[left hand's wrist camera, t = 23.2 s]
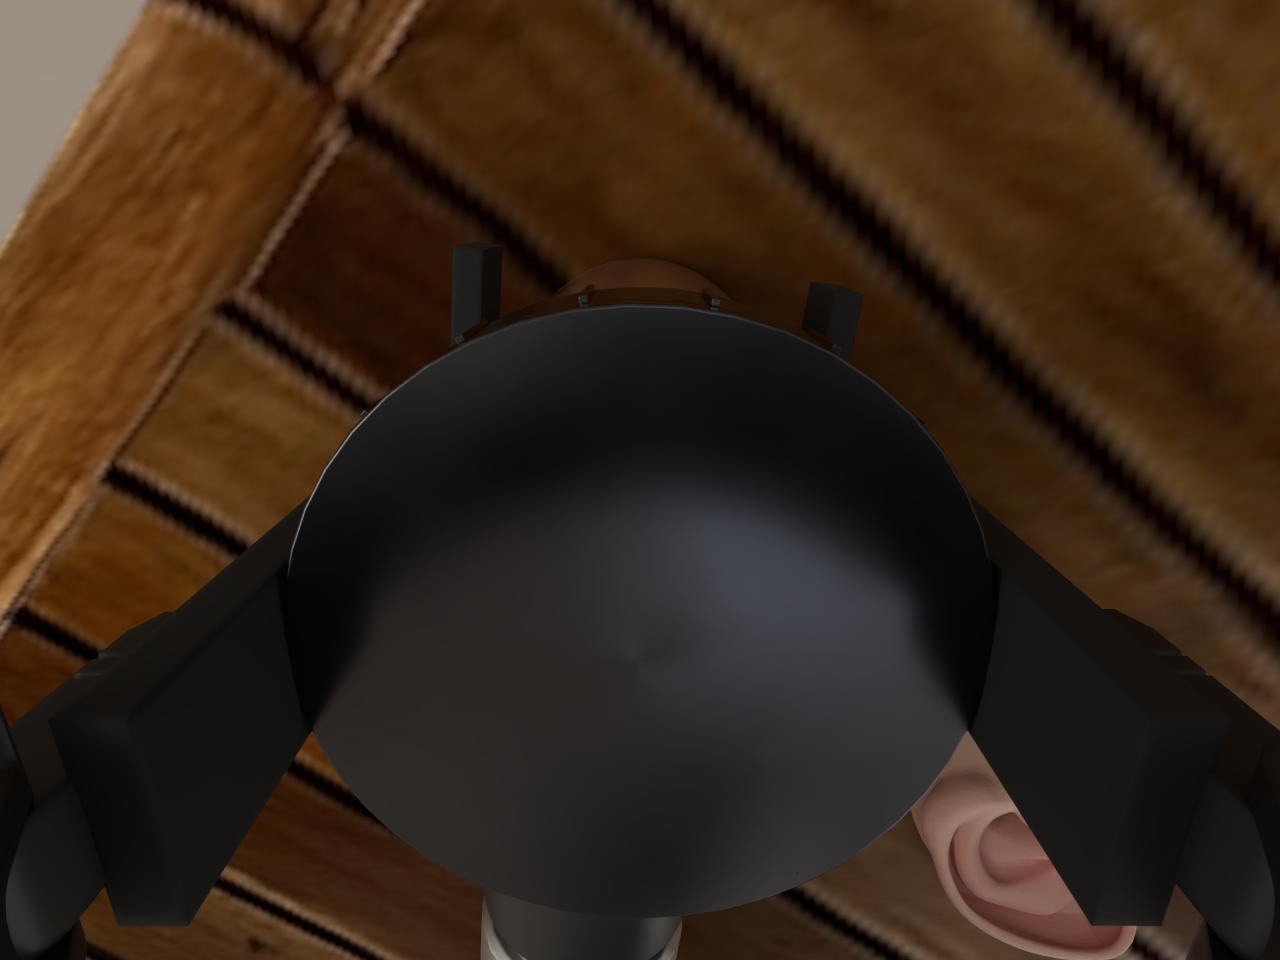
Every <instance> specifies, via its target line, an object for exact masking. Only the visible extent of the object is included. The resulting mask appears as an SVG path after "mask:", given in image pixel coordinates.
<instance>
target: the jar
mask: <svg viewBox="0 0 1280 960" xmlns="http://www.w3.org/2000/svg"><path fill="white" fill-rule="evenodd" d="M592 284H594V286H595V290H600V289H610V288H621V287H653V288H676V289H681V290H687V291H693V292H699V293H702V288H703V287H705V288H710V289H711V290H712V291H713V292H714V293H715V295H716V296H720V297H723V298H727V299H730V298H729V297H728V296H727V295H726V294H725V293H724V292H723V291H722V290H721V289H720V288H718V287H717V286H716V285H715V284H713V283H712V282H711V281H709V280H708V279H707V278H705V277H703V276H702V275H700V274H698V273H697V272H695V271H693V270H691V269H688V268H686V267H683V266H681V265H679V264H675V263H671V262H667V261H664V260H657V259H649V258H629V259H623V260H616V261H612V262H608V263H605V264H602V265H598V266H596V267H594V268H591V269H589V270H587V271H585V272H583V273H581V274H580V275H578V276H576V277H575V278H573V279H572V280H570V281H569V282H567V283H566V284H565V285H564V286H563V287H562V288H560V289H559V290H558V291H557V292H556V293H555V294H554V295H552V296H551V297H550V298H549V299H553V298H557V297H562V296H566V295H570V294H574V293H579V292H582V291H583V290H584V289H585V287H586V286H587V285H592ZM549 299H548V300H549ZM730 300H731V299H730Z"/></svg>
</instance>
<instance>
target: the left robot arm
mask: <svg viewBox="0 0 1280 960" xmlns="http://www.w3.org/2000/svg"><path fill="white" fill-rule="evenodd" d="M309 497H310V496H309ZM309 497H308V498H307V499H306V500H304V501H303V502H302V503H301V504H300V505H299V506H297V507H296V508H295V509H294V510H293V511H292V512H290V513H289V514H288V515H287V516H286V517H285V518H283V519H282V520H281V521H280V522H279V523H278V524H276V525H275V526H274V527H273V528H272V529H271V530H269V531H268V532H267V533H266V534H265V535H263V536H262V537H261V538H260V539H259V540H258V541H256V542H255V543H254V544H253V545H252V546H251V547H249V548H248V549H247V550H246V551H245V552H244V553H242V554H241V555H240V556H239V557H238V558H237V559H235V560H234V561H233V562H232V563H231V564H230V565H228V566H227V567H226V568H225V569H224V570H223V571H221V572H220V573H219V574H218V575H217V576H215V577H214V578H213V579H212V580H211V581H210V582H208V583H207V584H206V585H205V586H204V587H203V588H201V589H200V590H199V591H198V592H197V593H196V594H194V595H193V596H192V597H191V598H190V599H189V600H187V601H186V602H185V603H184V604H183V605H182V606H180V607H179V608H178V609H177V610H176V611H175V612H164V613H162V614H160V615H158V616H156V617H154V618H152V619H150V620H148V621H146V622H144V623H142V624H140V625H139V626H137V627H135V628H133V629H131V630H129V631H127V632H126V633H124V634H123V635H122V636H121V637H119V638H118V639H117V640H116V641H115V642H113V643H112V644H111V645H110V646H108V647H107V648H106V649H105V650H103V651H102V652H101V653H100V654H99V658H98V659H92V660H91V661H90V662H89V663H88V664H86V665H85V666H84V667H83V668H81V669H80V670H79V671H78V672H76V673H75V678H74V679H68V680H67V681H65V682H64V683H63V684H62V685H60V686H59V687H58V688H57V689H56V690H54V691H53V692H52V693H51V694H49V695H48V696H47V697H46V698H45V699H43V700H42V701H41V702H40V703H38V704H37V705H36V706H35V707H33V708H32V709H31V710H30V711H29V712H27V713H26V714H25V715H24V716H22V717H21V718H20V719H19V720H17V721H16V722H15V723H14V724H13V725H11V726H10V727H9V726H8V723H7V721H6V718H5V715H4V712H3V710H2V707H1V704H0V960H85V959H86V953H87V946H86V939H85V933H84V931H83V928H82V925H81V922H80V920H79V918H80V916H81V915H82V914H83V913H84V911H85V910H86V909H87V908H88V906H89V905H90V904H91V903H92V901H93V900H94V899H95V898H96V896H97V895H98V894H99V893H100V891H101V890H102V889H103V888H104V886H105V888H106V891H107V894H108V897H109V900H110V903H111V906H112V909H113V912H114V914H115V917H116V920H117V923H118V926H188V925H189V923H190V922H191V920H192V919H193V917H194V916H195V914H196V912H197V911H198V909H199V908H200V906H201V905H202V903H203V901H204V900H205V898H206V897H207V895H208V894H209V892H210V890H211V889H212V887H213V886H214V884H215V883H216V881H217V879H218V878H219V876H220V875H221V873H222V871H223V870H224V868H225V867H226V865H227V864H228V862H229V860H230V859H231V857H232V856H233V854H234V853H235V851H236V849H237V848H238V846H239V845H240V843H241V842H242V840H243V838H244V837H245V835H246V834H247V832H248V830H249V829H250V827H251V826H252V824H253V823H254V821H255V819H256V818H257V816H258V815H259V813H260V812H261V810H262V808H263V807H264V805H265V804H266V802H267V801H268V799H269V797H270V796H271V794H272V793H273V791H274V790H275V788H276V786H277V785H278V783H279V782H280V780H281V778H282V777H283V775H284V774H285V772H286V771H287V769H288V767H289V766H290V764H291V763H292V761H293V760H294V758H295V756H296V755H297V753H298V752H299V750H300V749H301V747H302V745H303V744H304V742H305V741H306V739H307V737H308V736H309V734H310V733H311V731H312V728H311V726H310V724H309V722H308V720H307V718H306V716H305V714H304V711H303V709H302V706H301V703H300V700H299V696H298V693H297V690H296V687H295V683H294V679H293V674H292V669H291V664H290V658H289V653H288V648H287V642H286V637H285V585H286V578H287V572H288V565H289V559H290V552H291V547H292V544H293V541H294V538H295V535H296V532H297V529H298V525H299V522H300V519H301V516H302V513H303V510H304V507H305V505H306V503H307V501H308V499H309ZM970 499H971V501H972V504H973V506H974V509H975V511H976V514H977V516H978V519H979V521H980V524H981V526H982V529H983V532H984V536H985V541H986V545H987V550H988V554H989V558H990V563H991V567H992V572H993V587H994V601H995V624H994V635H993V644H992V650H991V656H990V661H989V666H988V670H987V675H986V680H985V685H984V689H983V693H982V695H981V698H980V700H979V703H978V706H977V708H976V711H975V713H974V716H973V718H972V721H971V723H970V726H969V728H968V732H969V733H970V735H971V737H972V738H973V740H974V741H975V743H976V745H977V746H978V748H979V749H980V751H981V752H982V754H983V756H984V757H985V759H986V760H987V762H988V763H989V765H990V767H991V768H992V770H993V771H994V773H995V774H996V776H997V778H998V779H999V781H1000V782H1001V784H1002V786H1003V787H1004V789H1005V790H1006V792H1007V793H1008V795H1009V797H1010V798H1011V800H1012V801H1013V803H1014V804H1015V806H1016V808H1017V809H1018V811H1019V812H1020V814H1021V815H1022V817H1023V819H1024V820H1025V822H1026V823H1027V825H1028V826H1029V828H1030V830H1031V831H1032V833H1033V834H1034V836H1035V838H1036V839H1037V841H1038V842H1039V844H1040V845H1041V847H1042V849H1043V850H1044V852H1045V853H1046V855H1047V856H1048V858H1049V860H1050V861H1051V863H1052V864H1053V866H1054V867H1055V869H1056V871H1057V872H1058V874H1059V875H1060V877H1061V879H1062V880H1063V882H1064V883H1065V885H1066V886H1067V888H1068V890H1069V891H1070V893H1071V894H1072V896H1073V897H1074V899H1075V901H1076V902H1077V904H1078V905H1079V907H1080V908H1081V910H1082V912H1083V913H1084V915H1085V916H1086V918H1087V920H1088V921H1089V923H1090V924H1091V926H1161V924H1162V922H1163V919H1164V916H1165V913H1166V910H1167V907H1168V904H1169V901H1170V898H1171V895H1172V892H1173V889H1174V886H1175V884H1177V885H1178V887H1179V888H1180V889H1181V890H1182V892H1183V893H1184V894H1185V895H1186V897H1187V898H1188V899H1189V900H1190V902H1191V903H1192V904H1193V905H1194V907H1195V908H1196V909H1197V910H1198V912H1199V913H1200V914H1201V915H1202V917H1201V920H1200V922H1199V925H1198V928H1197V931H1196V933H1195V936H1194V939H1193V941H1192V944H1191V947H1190V950H1189V952H1188V955H1187V958H1186V960H1280V731H1279V730H1278V729H1277V728H1276V727H1274V726H1273V725H1272V724H1271V723H1269V722H1268V721H1267V720H1266V719H1264V718H1263V717H1262V716H1261V715H1259V714H1258V713H1257V712H1256V711H1254V710H1253V709H1252V708H1251V707H1250V706H1248V705H1247V704H1246V703H1245V702H1243V701H1242V700H1241V699H1240V698H1238V697H1237V696H1236V695H1235V694H1233V693H1232V692H1231V691H1230V690H1228V689H1227V688H1226V687H1225V686H1224V685H1222V684H1221V683H1220V682H1219V681H1217V680H1216V679H1215V678H1214V677H1212V676H1206V674H1205V670H1204V669H1202V668H1201V667H1200V666H1199V665H1198V664H1196V663H1195V662H1194V661H1193V660H1191V659H1190V658H1189V657H1188V656H1182V654H1181V651H1180V650H1179V649H1178V648H1176V647H1175V646H1174V645H1173V644H1172V643H1170V642H1169V641H1168V640H1167V639H1165V638H1164V637H1163V636H1162V635H1160V634H1159V633H1158V632H1157V631H1155V630H1154V629H1153V628H1151V627H1149V626H1147V625H1145V624H1143V623H1141V622H1139V621H1137V620H1135V619H1133V618H1131V617H1129V616H1127V615H1125V614H1123V613H1121V612H1119V611H1117V610H1115V609H1101V608H1100V607H1099V606H1098V605H1097V604H1096V603H1094V602H1093V601H1092V600H1091V599H1090V598H1089V597H1087V596H1086V595H1085V594H1084V593H1083V592H1082V591H1080V590H1079V589H1078V588H1077V587H1076V586H1075V585H1073V584H1072V583H1071V582H1070V581H1069V580H1068V579H1066V578H1065V577H1064V576H1063V575H1062V574H1061V573H1059V572H1058V571H1057V570H1056V569H1055V568H1053V567H1052V566H1051V565H1050V564H1049V563H1048V562H1046V561H1045V560H1044V559H1043V558H1042V557H1041V556H1039V555H1038V554H1037V553H1036V552H1035V551H1034V550H1032V549H1031V548H1030V547H1029V546H1028V545H1027V544H1025V543H1024V542H1023V541H1022V540H1021V539H1020V538H1018V537H1017V536H1016V535H1015V534H1014V533H1013V532H1011V531H1010V530H1009V529H1008V528H1007V527H1005V526H1004V525H1003V524H1002V523H1001V522H1000V521H998V520H997V519H996V518H995V517H994V516H993V515H991V514H990V513H989V512H988V511H987V510H986V509H984V508H983V507H982V506H981V505H980V504H979V503H977V502H976V501H975V500H974V499H973V498H972V497H970Z"/></svg>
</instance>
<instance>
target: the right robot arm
mask: <svg viewBox="0 0 1280 960" xmlns="http://www.w3.org/2000/svg"><path fill="white" fill-rule="evenodd" d="M502 251H503V245H495V244H486V243H478V242H475V243H469V244H463V245H457V246H453V268H452V311H451V346H452V345H454V344H455V343H457V342H456V340H455V338H456V337H457V336H459V335H460V334H462V333H463V332H465V331H466V330H468V329H469V328H471V327H472V326H474V325H475V324H477V323H478V322H480V321H482V320H483V319H486V320H487V322H488V324H489V323H491V322H493V321H495V320H496V319H498V318H499V316H500V295H501V273H502ZM862 299H863V294H860V293H857V292H854V291H851V290H849V289H846V288H843V287H840V286H838V285H832V284H824V283H815V282H810V288H809V293H808V298H807V303H806V309H805V314H804V319H803V325H802V330H803V331H805V332H806V331H807V329H808V327H810V328H812V329H813V330H815V331H816V332H818V333H820V334H821V335H823V336H824V337H826V338H827V339H829V340H830V341H832V342H833V343H835V344H836V345H838V346H839V347H841V350H840V352H839V353H838V354H839V355H841V356H842V357H844V358H845V359H846V360H848V361H849V359H850V355H851V350H852V345H853V341H854V336H855V331H856V327H857V322H858V317H859V313H860V308H861V304H862ZM484 894H485V896H484V900H483V906H482V934H481V960H676V956H677V951H678V946H679V941H680V936H681V931H682V917H683V916H675V917H661V918H615V917H602V916H594V915H586V914H578V913H570V912H565V911H561V910H556V909H552V908H547V907H543V906H538V905H534V904H530V903H527V902H524V901H521V900H518V899H515V898H512V897H509V896H506V895H503V894H500V893H497V892H494V891H492V890H490V889H487V888H485V887H484Z"/></svg>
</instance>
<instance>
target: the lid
mask: <svg viewBox="0 0 1280 960" xmlns="http://www.w3.org/2000/svg"><path fill="white" fill-rule="evenodd" d="M455 340H456V342H457V343H455V344H454V345H452V346H451V347H450V348H448V349H447V350H445V351H444V352H442V353H441V354H440V355H438V356H437V357H435V358H434V359H433V360H431V361H430V362H428V363H427V364H425V365H424V366H423V367H421V368H420V369H419V370H417V371H416V372H415V373H413V374H412V375H411V376H410V377H408V378H407V379H406V380H404V381H403V382H402V383H400V384H399V385H398V386H396V387H395V388H394V389H393V390H391V391H390V392H389V393H387V394H386V395H385V396H383V397H382V398H381V399H379V400H378V401H376V402H375V403H373V404H372V405H371V406H369V407H368V408H366V409H365V410H364V411H363V412H362V413H361V414H360V416H361V417H363V418H362V419H361V420H360V421H359V422H358V423H357V425H356V426H355V427H354V428H353V429H352V430H351V431H350V432H349V434H348V435H347V437H346V438H345V439H344V441H343V442H342V444H341V445H340V446H339V448H338V449H337V451H336V452H335V453H334V455H333V456H332V458H331V459H330V460H329V462H328V463H327V465H326V466H325V467H324V469H323V471H322V473H321V475H320V477H319V479H318V481H317V483H316V485H315V487H314V489H313V491H312V493H311V495H310V497H309V499H308V501H307V503H306V505H305V507H304V510H303V513H302V516H301V519H300V522H299V525H298V529H297V532H296V535H295V538H294V541H293V544H292V547H291V552H290V559H289V565H288V572H287V578H286V585H285V637H286V642H287V648H288V653H289V658H290V664H291V669H292V674H293V679H294V683H295V687H296V690H297V693H298V696H299V700H300V703H301V706H302V709H303V711H304V714H305V716H306V718H307V720H308V722H309V724H310V726H311V728H312V731H313V733H314V735H315V737H316V739H317V741H318V743H319V745H320V747H321V748H322V750H323V751H324V753H325V754H326V756H327V758H328V759H329V761H330V762H331V764H332V765H333V767H334V768H335V770H336V771H337V773H338V775H339V776H340V777H341V779H342V780H343V781H344V782H345V783H346V785H347V786H348V787H349V788H350V789H351V791H352V792H353V793H354V794H355V795H356V796H357V798H358V799H359V800H360V801H361V802H362V804H363V805H364V806H365V807H366V808H367V809H368V810H369V811H370V812H371V813H372V814H374V815H375V816H376V817H377V818H378V819H379V820H380V821H381V822H382V823H383V824H384V825H385V826H386V827H388V828H389V829H390V830H391V831H392V832H393V833H394V834H395V835H397V836H398V837H399V838H401V839H402V840H404V841H405V842H406V843H408V844H409V845H410V846H412V847H413V848H414V849H416V850H417V851H419V852H420V853H421V854H423V855H424V856H425V857H427V858H429V859H431V860H432V861H434V862H436V863H438V864H439V865H441V866H443V867H444V868H446V869H448V870H450V871H451V872H453V873H455V874H457V875H458V876H460V877H463V878H465V879H467V880H469V881H472V882H474V883H476V884H478V885H481V886H483V887H485V888H487V889H490V890H492V891H494V892H497V893H500V894H503V895H506V896H509V897H512V898H515V899H518V900H521V901H524V902H527V903H530V904H534V905H538V906H543V907H547V908H552V909H556V910H561V911H565V912H570V913H578V914H586V915H594V916H602V917H615V918H661V917H675V916H689V915H695V914H701V913H706V912H712V911H718V910H724V909H729V908H733V907H736V906H740V905H744V904H747V903H751V902H755V901H759V900H762V899H766V898H768V897H771V896H773V895H776V894H779V893H781V892H784V891H787V890H789V889H792V888H794V887H797V886H800V885H802V884H804V883H806V882H808V881H810V880H812V879H814V878H816V877H818V876H820V875H822V874H824V873H826V872H828V871H830V870H832V869H834V868H836V867H837V866H839V865H840V864H842V863H844V862H845V861H847V860H848V859H850V858H851V857H853V856H854V855H856V854H858V853H859V852H861V851H862V850H864V849H865V848H867V847H868V846H870V845H871V844H872V843H873V842H875V841H876V840H877V839H878V838H879V837H881V836H882V835H883V834H884V833H886V832H887V831H888V830H889V829H890V828H892V827H893V826H894V825H895V824H897V823H898V822H899V821H900V820H901V819H902V818H903V817H904V816H905V815H906V814H907V813H908V812H909V811H910V810H911V809H912V807H913V806H914V805H915V804H916V803H917V802H918V801H919V800H920V799H921V798H922V797H923V796H924V795H925V794H926V793H927V791H928V790H929V789H930V787H931V786H932V785H933V783H934V782H935V781H936V779H937V778H938V777H939V775H940V774H941V773H942V771H943V770H944V769H945V767H946V766H947V765H948V764H949V762H950V760H951V758H952V757H953V755H954V753H955V751H956V750H957V748H958V746H959V744H960V743H961V741H962V739H963V737H964V735H965V734H966V732H967V730H968V728H969V726H970V723H971V721H972V718H973V716H974V713H975V711H976V708H977V706H978V703H979V700H980V698H981V695H982V693H983V689H984V685H985V680H986V675H987V670H988V666H989V661H990V656H991V650H992V644H993V635H994V624H995V601H994V587H993V572H992V567H991V563H990V558H989V554H988V550H987V545H986V541H985V536H984V532H983V529H982V526H981V524H980V521H979V519H978V516H977V514H976V511H975V509H974V506H973V504H972V501H971V499H970V496H969V494H968V491H967V489H966V487H965V485H964V484H963V482H962V480H961V479H960V477H959V475H958V474H957V472H956V470H955V469H954V467H953V465H952V464H951V462H950V460H949V459H948V457H947V455H946V454H945V452H944V450H943V449H942V448H941V447H940V445H939V444H938V443H937V442H936V440H935V439H934V438H933V437H932V436H931V434H930V433H929V432H928V431H929V430H930V428H929V427H928V425H927V424H926V423H924V422H923V421H922V420H920V419H919V418H918V417H916V416H915V415H914V414H913V413H912V412H911V411H910V410H909V409H908V408H907V407H905V406H904V405H903V404H902V403H901V402H900V401H899V400H898V399H896V398H895V397H894V396H893V395H892V394H891V393H890V392H889V391H888V390H886V389H885V388H884V387H883V386H882V385H881V384H880V383H879V382H878V381H876V380H875V379H873V378H872V377H871V376H869V375H868V374H866V373H865V372H864V371H862V370H861V369H859V368H858V367H856V366H855V365H854V364H852V363H851V362H849V361H848V360H846V359H845V358H844V357H842V356H841V355H839V354H838V353H839V352H840V350H841V347H839V346H838V345H836V344H835V343H833V342H832V341H830V340H829V339H827V338H826V337H824V336H823V335H821V334H820V333H818V332H816V331H815V330H813V329H812V328H810V327H808V329H807V331H806V332H805V331H803V330H802V329H800V328H799V327H796V326H794V325H792V324H790V323H788V322H786V321H784V320H782V319H780V318H778V317H776V316H774V315H771V314H769V313H767V312H765V311H763V310H761V309H758V308H755V307H752V306H749V305H745V304H742V303H739V302H736V301H733V300H730V299H727V298H723V297H720V296H716V295H715V293H714V292H713V291H712V290H711V289H710V288H705V287H703V288H702V293H699V292H693V291H687V290H681V289H676V288H653V287H621V288H610V289H600V290H595V286H594V284H592V285H587V286H586V287H585V289H584V290H583V291H582V292H579V293H574V294H570V295H566V296H562V297H557V298H553V299H549V300H545V301H541V302H538V303H536V304H533V305H531V306H528V307H525V308H523V309H520V310H518V311H515V312H513V313H510V314H507V315H505V316H502V317H500V318H498V319H496V320H495V321H493V322H491V323H489V324H488V322H487V320H486V319H483V320H482V321H480V322H478V323H477V324H475V325H474V326H472V327H471V328H469V329H468V330H466V331H465V332H463V333H462V334H460V335H459V336H457V337H456V338H455Z"/></svg>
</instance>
